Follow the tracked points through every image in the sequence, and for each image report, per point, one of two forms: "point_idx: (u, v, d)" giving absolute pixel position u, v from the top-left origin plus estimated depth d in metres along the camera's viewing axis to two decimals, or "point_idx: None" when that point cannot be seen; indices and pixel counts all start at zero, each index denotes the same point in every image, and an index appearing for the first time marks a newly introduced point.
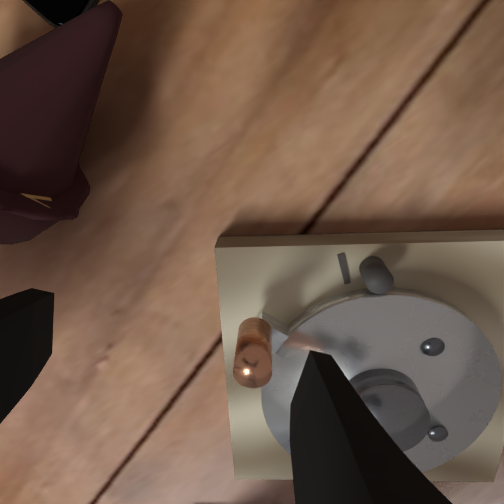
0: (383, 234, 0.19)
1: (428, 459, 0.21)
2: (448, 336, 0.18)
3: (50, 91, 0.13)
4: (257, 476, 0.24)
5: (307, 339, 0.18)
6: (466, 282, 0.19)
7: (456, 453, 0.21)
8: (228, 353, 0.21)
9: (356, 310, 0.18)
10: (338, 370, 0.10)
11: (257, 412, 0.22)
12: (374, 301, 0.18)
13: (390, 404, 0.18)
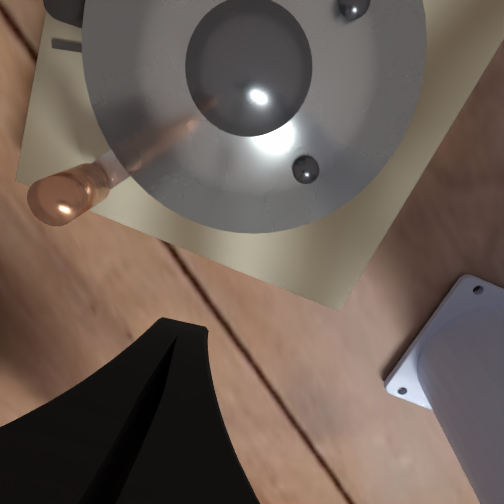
0: None
1: (403, 35, 0.13)
2: None
3: None
4: (348, 286, 0.18)
5: (121, 128, 0.14)
6: None
7: None
8: (149, 229, 0.18)
9: (95, 49, 0.14)
10: (200, 340, 0.09)
11: (246, 238, 0.18)
12: (89, 19, 0.13)
13: (211, 52, 0.12)
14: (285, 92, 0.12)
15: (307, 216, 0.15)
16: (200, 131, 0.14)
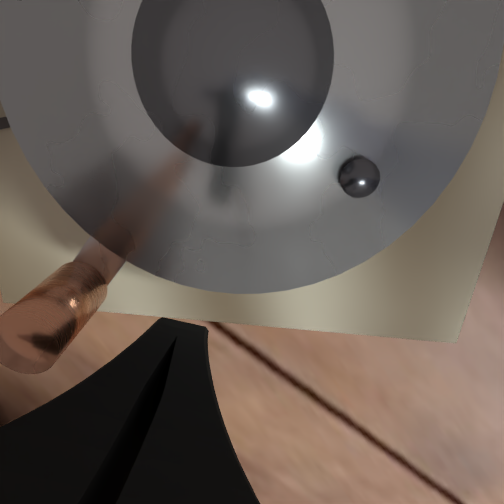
0: None
1: None
2: None
3: None
4: (461, 307, 0.13)
5: (94, 205, 0.11)
6: None
7: None
8: (175, 312, 0.13)
9: (24, 114, 0.10)
10: (200, 340, 0.09)
11: None
12: (2, 79, 0.09)
13: (168, 57, 0.08)
14: (298, 76, 0.08)
15: (380, 239, 0.11)
16: (195, 173, 0.10)
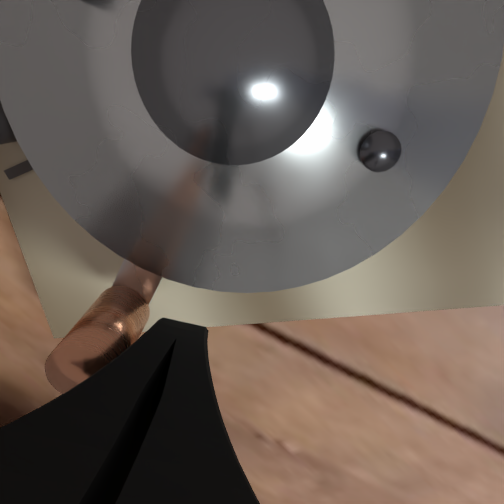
0: None
1: None
2: None
3: None
4: None
5: (122, 229, 0.11)
6: None
7: None
8: (218, 320, 0.14)
9: (43, 154, 0.10)
10: (200, 340, 0.09)
11: (339, 273, 0.13)
12: (18, 124, 0.10)
13: (169, 68, 0.08)
14: (300, 60, 0.07)
15: (412, 210, 0.10)
16: (214, 179, 0.10)
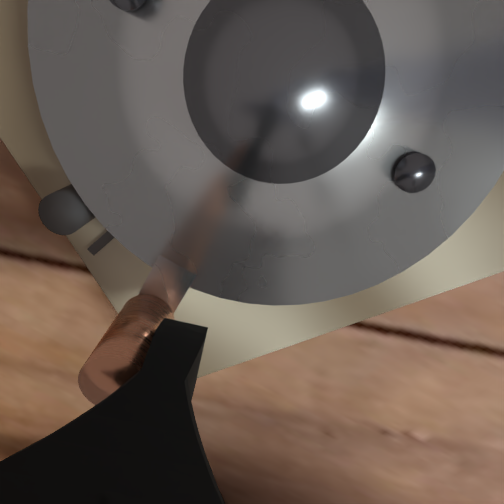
0: None
1: None
2: None
3: None
4: None
5: (153, 238, 0.11)
6: (16, 35, 0.10)
7: None
8: (317, 329, 0.13)
9: (78, 162, 0.10)
10: (179, 335, 0.09)
11: None
12: (54, 131, 0.10)
13: (220, 87, 0.08)
14: (350, 84, 0.08)
15: (441, 230, 0.10)
16: (248, 192, 0.10)
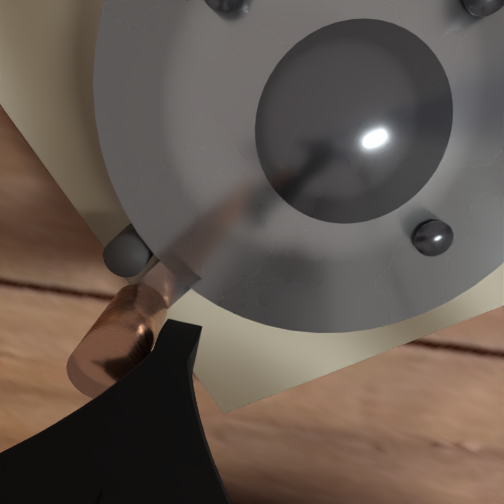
0: None
1: None
2: None
3: None
4: None
5: (169, 233, 0.11)
6: (74, 90, 0.11)
7: None
8: (371, 350, 0.14)
9: (117, 139, 0.10)
10: (183, 336, 0.09)
11: None
12: (102, 102, 0.09)
13: (292, 115, 0.08)
14: (412, 149, 0.08)
15: (440, 295, 0.11)
16: (277, 214, 0.10)
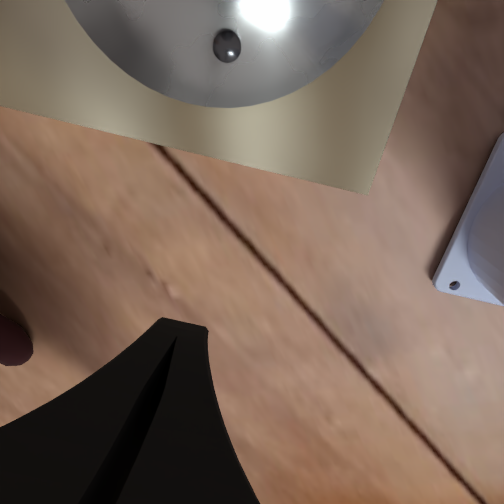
0: None
1: None
2: None
3: None
4: (373, 161, 0.16)
5: None
6: None
7: None
8: (146, 135, 0.16)
9: None
10: (200, 339, 0.09)
11: (251, 125, 0.16)
12: None
13: None
14: None
15: (207, 98, 0.14)
16: None
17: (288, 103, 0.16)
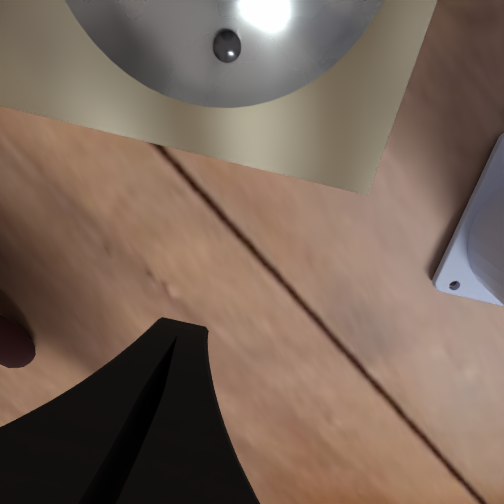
0: None
1: None
2: None
3: None
4: (373, 161, 0.16)
5: None
6: None
7: None
8: (146, 135, 0.16)
9: None
10: (200, 339, 0.09)
11: (251, 125, 0.16)
12: None
13: None
14: None
15: (207, 98, 0.14)
16: None
17: (288, 103, 0.16)
